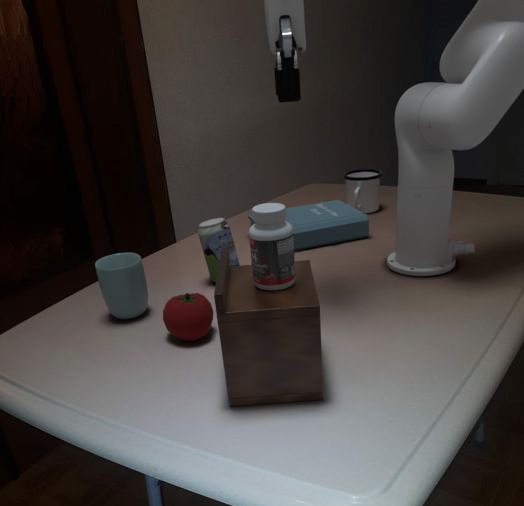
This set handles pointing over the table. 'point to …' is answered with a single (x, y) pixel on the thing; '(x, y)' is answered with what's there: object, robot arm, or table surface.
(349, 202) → the mug
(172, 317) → the tomato
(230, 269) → the wooden box
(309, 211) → the book
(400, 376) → the table surface
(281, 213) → the pill bottle
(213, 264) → the beverage can
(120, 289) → the cup
